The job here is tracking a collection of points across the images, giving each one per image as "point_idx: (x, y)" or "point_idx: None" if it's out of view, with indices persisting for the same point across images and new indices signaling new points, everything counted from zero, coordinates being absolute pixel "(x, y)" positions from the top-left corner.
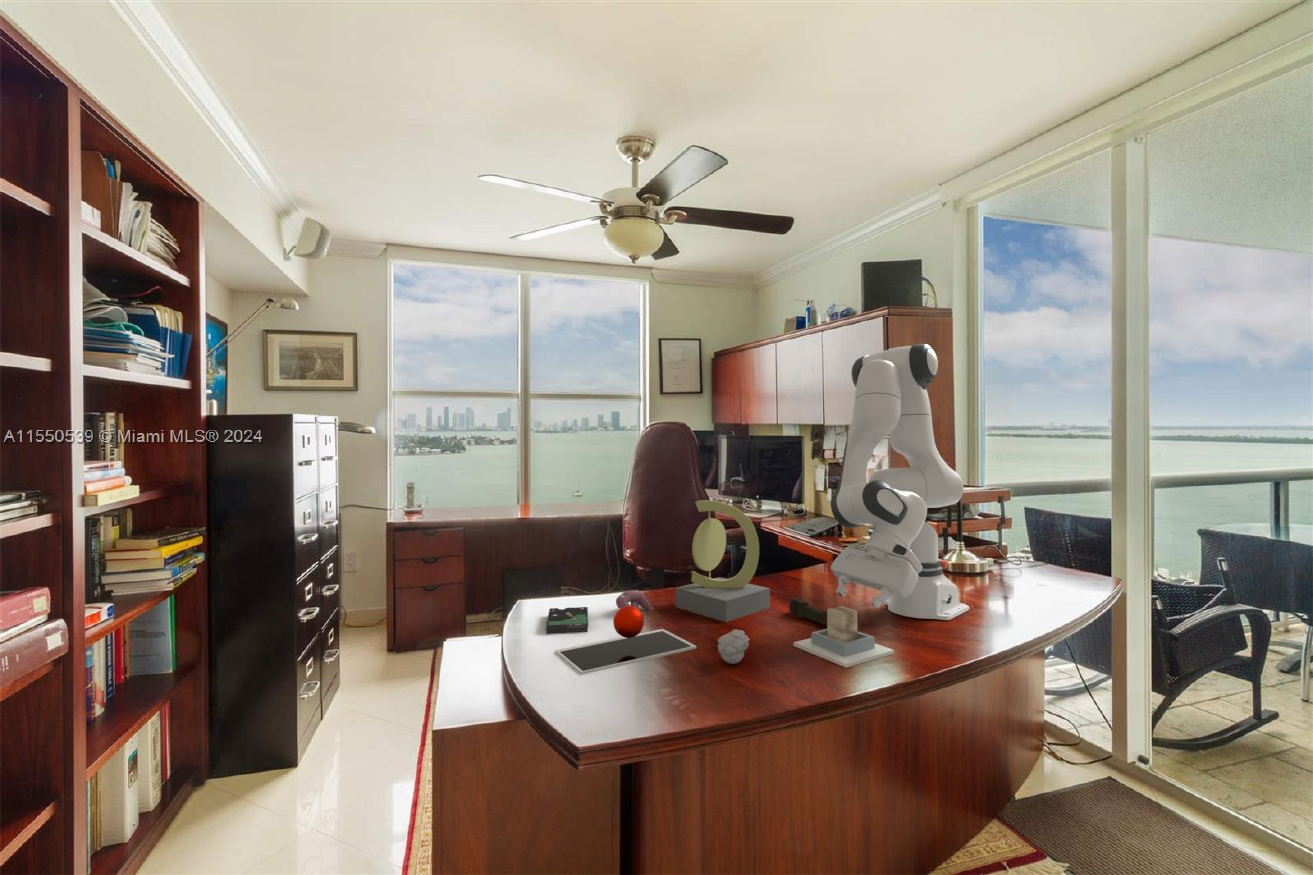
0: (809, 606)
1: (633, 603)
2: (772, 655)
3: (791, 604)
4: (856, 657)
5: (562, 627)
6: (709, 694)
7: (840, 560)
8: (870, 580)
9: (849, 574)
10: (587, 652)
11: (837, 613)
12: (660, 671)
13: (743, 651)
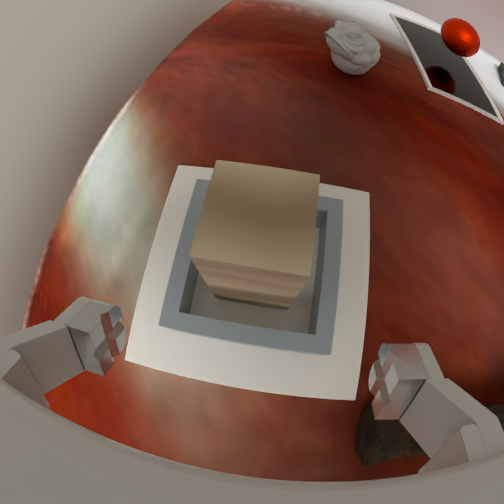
0: (501, 426)
1: None
2: (343, 124)
3: None
4: (176, 218)
5: (501, 69)
6: (277, 20)
7: None
8: (80, 431)
9: (438, 473)
10: (440, 40)
11: (250, 166)
12: (366, 31)
13: (335, 54)
